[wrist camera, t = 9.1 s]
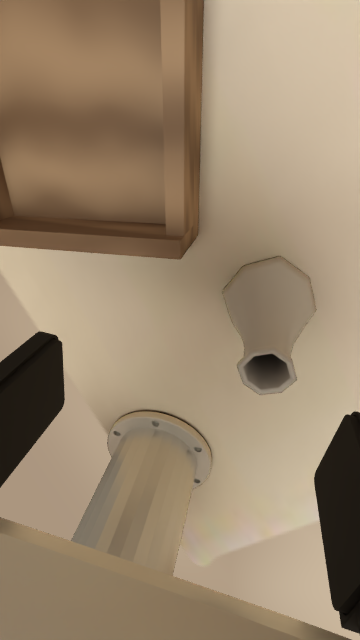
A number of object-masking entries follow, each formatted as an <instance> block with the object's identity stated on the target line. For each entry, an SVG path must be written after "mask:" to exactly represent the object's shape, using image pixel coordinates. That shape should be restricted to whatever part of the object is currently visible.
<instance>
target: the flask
mask: <svg viewBox="0 0 360 640" xmlns="http://www.w3.org/2000/svg"><path fill="white" fill-rule="evenodd" d="M222 293H223V296H224V299H225V302H226V305H227V308H228V311H229V314H230V317H231V320H232V323H233V325H234V326H235V328H236V329H237V331H238V333H239V334H240V336H241V338H242V340H243V343H244V357H243V358H242V359H241V360H240V361H239V362H238V364H237V368H238V371H239V374H240V376H241V379H242V382H243V384H244V385H246V386H247V387H249V388H250V389H252V390H253V391H255V392H256V393H258V394H259V395H265V394H273V393H282V392H283V391H284V390H285V389H286V388H288V387H289V386H290V385H291V384H293V383H294V382H295V381H296V380H297V377H296V373H295V369H294V365H293V362H292V359H291V357H290V356H291V352H292V348H293V344H294V342H295V341H296V339H297V338H298V336H299V334H300V333H301V331H302V330H303V328H304V327H305V325H306V324H307V323H308V321H309V320H310V319H311V317H312V316H313V315H314V313H315V312H316V306H315V301H314V296H313V291H312V287H311V282H310V278H309V277H308V276H307V275H305V274H304V273H302V272H301V271H300V270H298V269H297V268H296V267H294V266H293V265H292V264H290V263H289V262H287V261H286V260H285V259H283V258H282V257H281V256H278V257H275V258H271V259H267V260H263V261H260V262H256V263H252V264H248V265H245V266H243V267H242V268H241V269H240V270H239V272H238V273H237V274H236V275H235V276H234V278H233V279H232V280H231V281H230V283H229V284H228V285H227V286H226V287H225V289H224V290H223V291H222Z"/></svg>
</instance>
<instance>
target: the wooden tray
mask: <svg viewBox="0 0 360 640" xmlns="http://www.w3.org/2000/svg"><path fill="white" fill-rule="evenodd" d="M203 9H204V0H0V246H12V247H25V248H38V249H51V250H64V251H77V252H90V253H103V254H116V255H129V256H142V257H155V258H168V259H181V258H182V256H183V255H184V254H185V252H186V251H187V250H188V248H189V247H190V245H191V244H192V243H193V241H194V240H195V239H196V237H197V236H198V219H199V177H200V135H201V93H202V51H203Z"/></svg>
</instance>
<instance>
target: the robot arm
mask: <svg viewBox="0 0 360 640" xmlns="http://www.w3.org/2000/svg"><path fill="white" fill-rule="evenodd" d="M63 376H64V375H63V352H62V342H61V341H59V340H58V337H57V336H56V335H53V334H49V333H45V332H38V333H36V334H35V335H34V336H32V337H31V338H30V339H29V340H27V341H26V342H25V343H24V344H22V345H21V346H20V347H19V348H18V349H16V350H15V351H14V352H12V353H11V354H10V355H9V356H7V357H6V358H5V359H4V360H2V361H1V362H0V487H1V486H2V485H3V483H4V482H5V481H6V480H7V478H8V477H9V476H10V474H11V473H12V472H13V471H14V469H15V468H16V467H17V466H18V464H19V463H20V462H21V460H22V459H23V458H24V457H25V455H26V454H27V453H28V452H29V450H30V449H31V448H32V446H33V445H34V444H35V443H36V441H37V440H38V439H39V437H40V436H41V435H42V434H43V432H44V431H45V430H46V429H47V427H48V426H49V425H50V423H51V422H52V421H53V420H54V418H55V417H56V416H57V415H58V413H59V412H60V411H61V409H62V407H63V405H64V400H65V399H64V377H63ZM107 444H108V449H109V453H110V455H111V457H112V459H111V461H110V463H109V465H108V467H107V469H106V471H105V473H104V475H103V477H102V479H101V481H100V483H99V485H98V487H97V489H96V491H95V493H94V495H93V497H92V499H91V502H90V503H89V506H88V507H87V509H86V512H85V513H84V515H83V517H82V519H81V522H80V524H79V526H78V528H77V530H76V532H75V534H74V536H73V538H72V540H71V541H69V540H66V539H63V538H60V537H57V536H54V535H51V534H48V533H45V532H42V531H39V530H36V529H33V528H30V527H27V526H24V525H21V524H19V523H15V522H12V521H10V520H7V519H4V518H1V517H0V640H351V639H348V638H346V637H343V636H340V635H338V634H335V633H332V632H329V631H327V630H324V629H321V628H319V627H316V626H313V625H310V624H308V623H305V622H302V621H300V620H297V619H294V618H291V617H289V616H286V615H283V614H280V613H277V612H275V611H272V610H269V609H266V608H263V607H260V606H257V605H255V604H252V603H248V602H246V601H243V600H240V599H237V598H235V597H232V596H229V595H226V594H223V593H220V592H217V591H214V590H211V589H209V588H206V587H203V586H200V585H197V584H194V583H191V582H188V581H186V580H183V579H180V578H177V577H174V576H173V572H174V568H175V563H176V559H177V555H178V550H179V546H180V541H181V537H182V532H183V528H184V523H185V519H186V514H187V510H188V505H189V501H190V496H191V492H192V489H194V488H196V487H198V486H200V485H201V484H203V483H204V482H205V481H206V479H207V478H208V476H209V474H210V469H211V464H212V456H211V452H210V449H209V447H208V445H207V443H206V442H205V440H204V439H203V438H202V436H201V435H200V434H199V433H198V432H197V431H196V430H195V429H193V428H192V427H190V426H189V425H188V424H186V423H185V422H183V421H181V420H179V419H177V418H175V417H172V416H169V415H166V414H162V413H158V412H148V411H143V412H134V413H131V414H127V415H125V416H123V417H122V418H120V419H119V420H118V421H117V422H116V423H115V424H114V426H113V427H112V429H111V431H110V433H109V435H108V442H107ZM314 483H315V490H316V497H317V504H318V511H319V518H320V525H321V532H322V539H323V545H324V552H325V559H326V565H327V572H328V580H329V587H330V593H331V600H332V604H333V607H334V609H335V610H336V611H339V614H340V620H341V626H342V628H345V629H348V630H351V631H353V632H356V633H359V634H360V413H359V412H353V413H352V414H351V415H345V417H344V418H343V420H342V422H341V424H340V426H339V428H338V430H337V432H336V433H335V435H334V437H333V439H332V441H331V443H330V445H329V447H328V449H327V451H326V453H325V455H324V456H323V458H322V460H321V462H320V464H319V466H318V468H317V470H316V472H315V477H314Z"/></svg>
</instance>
